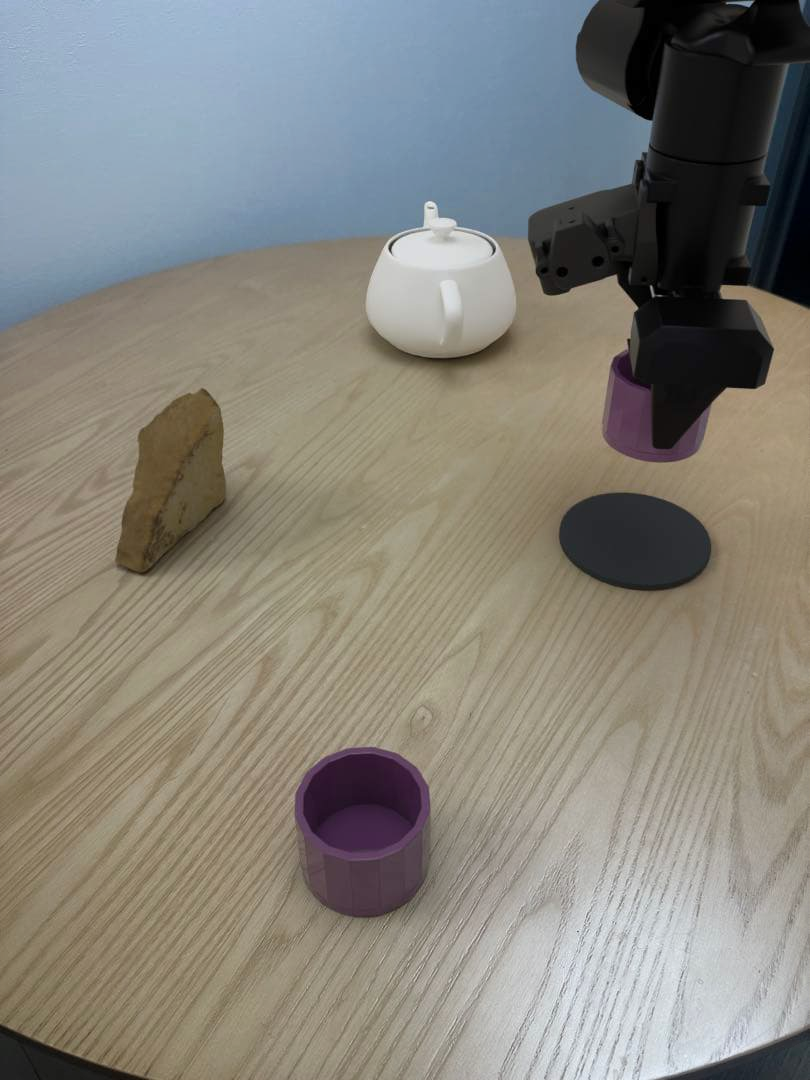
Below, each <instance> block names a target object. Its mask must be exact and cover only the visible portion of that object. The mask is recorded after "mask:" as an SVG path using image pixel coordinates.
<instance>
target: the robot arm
mask: <svg viewBox="0 0 810 1080" xmlns="http://www.w3.org/2000/svg"><path fill="white" fill-rule="evenodd" d="M744 2H752V3H751V4H750V5H749V6H747V5H743V4H738V3H744ZM575 62H576V66H577V70H578V73H579V75H580V77H581V79H582V81H583V83H584V84H585V85H586V86H587V87H588V88H589V89H590V90H591V91H592V92H595V93H596V94H598V95H600V96H601V97H604V98H605V99H607V100H609V101H611V102H613V103H614V104H617V105H618V106H620V107H622V108H623V109H624V110H627V111H629V112H631V113H632V114H635V116H638V117H640V118H642V119H644V120H646V121H649V122H651V129H650V135H649V141H648V148H647V151H641V156H640V159H635V161H634V166H633V171H632V177H631V183H629V184H624V185H621V186H618V187H617V186H616V187H614V188H610V189H601V190H598V191H595V192H591V193H588V194H585V195H582V196H579V197H575V198H572V199H569V200H565V201H563V202H560V203H556V204H553V205H550V206H547V207H544V208H542V209H539V210H537V211H535V212H533V213H532V214H531V215H530V216H528V217H529V218H528V221H527V241H528V245H529V248H530V252H531V255H532V259H533V262H534V266H535V269H534V270H535V275H536V276H537V278H538V280H539V282H540V286H541V289H542V293H543V294H544V295H546V296H548V297H549V296H550V297H553V296H559V295H564V294H567V293H570V291H571V290H572V289H575V288H578V287H581V286H585V285H589V284H591V283H595V282H598V281H599V282H600V281H602V280H605V279H607V278H609V277H613V276H616V280H617V284H618V285H619V287H620V288H621V289H622V290H623V291H624V292H625V294H626V295H627V296H628V298H629V299H630V300H631V301H632V302H633V303H634V305H635V306H636V308H637V309H636V310H635V311H634V312H633V316H632V321H631V328H630V337H629V338H626V343H627V349H628V350H629V356H630V361H631V364H632V370H633V377H634V378H636V379H638V380H640V381H642V382H644V383H646V384H651V427H652V445H653V447H654V448H656V449H671V448H673V447H674V446H675V444H676V443H677V442H678V441H679V440H680V439H681V438H682V436H683V435H684V434H685V433H686V432H687V431H688V430H689V428H690V427H691V426H692V425H693V424H694V423H695V421H696V420H697V419H698V418H699V417H700V416H701V415H702V413H703V412H704V411H705V410H706V409H707V408H708V407H709V406H710V405H711V403H712V404H713V402H715V401H716V399H718V397H719V396H720V395H721V394H723V393H724V392H725V390H727V389H740V390H741V389H743V390H756V389H758V388H761V387H763V386H764V385H766V382H767V378H768V375H769V371H770V368H771V367H770V366H771V363H772V359H773V355H774V351H775V347H774V345H773V343H772V340H771V338H770V336H769V333H768V331H767V329H766V327H765V323H764V322H763V319H762V317H761V316H760V315H759V313H758V312H757V311H756V310H755V309H754V307H753V306H752V305H751V304H750V302H749V301H748V300H747V299H737V298H735V299H734V298H723V295H722V293H721V290H722V289H721V288H722V287H723V286H731V287H732V286H733V287H734V286H735V287H748V284H749V281H750V276H751V273H752V265H751V263H750V261H749V259H748V256H747V254H746V249H747V244H748V240H749V237H750V232H751V226H752V223H753V217H754V214H755V208H756V207H767V204H768V200H769V195H770V190H771V188H772V187H771V186H772V185H771V183H770V182H769V180H768V178H767V176H766V175H765V172H764V170H765V165H766V160H767V156H768V151H769V147H770V143H771V138H772V134H773V129H774V125H775V121H776V116H777V111H778V108H779V103H780V99H781V95H782V94H781V93H782V91H783V85H784V81H785V76H786V74H787V73H786V72H787V68H788V65H793V64H803V63H805V64H807V63H810V24H809V23H808V22H807V20H806V18H805V16H804V14H803V12H802V8H801V3H800V0H598V1H596V2H595V4H594V5H593V6H592V7H591V8H590V11H589V12H588V14H587V15H586V17H585V19H584V21H583V23H582V27H581V29H580V31H579V32H578V33H577V36H576V42H575ZM711 406H712V405H711Z"/></svg>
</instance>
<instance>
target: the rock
mask: <svg viewBox="0 0 810 1080" xmlns="http://www.w3.org/2000/svg"><path fill="white" fill-rule="evenodd" d="M224 428H225V427H224V421H223V416H222V410H221V407H220V405H219V404H218V402H217V401H216V400H215V399H214V397H213V396H212V394H211V393H210V392H209V391H208V390H207V389H205V388H203V387H201V388H199V389H198V390H197V391H196V392H195V393H191V392H187V393H185V394H183V395H180V396H179V397H176V398H174V399H173V400H172V401H171V402H170V403H169V404H168V405H167V406H165V407H164V408H163V409H162V411H160V412H159V413H157V414H155V416H154V417H153V418H152V420H151V421H150V422H149V423H147V424H146V426H144V427H141V428H140V430H139V431H138V434H137V443H138V459H137V463H136V466H135V470H134V478H133V480H132V493H131V495H130V497H129V498H128V499H127V501H126V502H125V505H124V509H123V511H122V515H121V516H122V517H121V522H120V523H121V524H120V525H121V533H120V536H119V539H118V542H117V546H116V556H115V559H114V562H115V563H116V564H117V565H119V566H123V567H125V568H128V569H130V570H132V571H133V572H137V573H140V574H141V573H145V572H146V571H147V570H149V569H151V568H152V567H153V566H154V565H155V564H156V563H157V562H158V560H159V559H161V558H162V556H163V555H164V554H166V553H167V552H168V551H170V549H171V548H173V547H174V546H176V544H177V542H178V541H180V540H181V539H182V538H183V537H184V536H185V535H186V534H188V533H190V532H191V531H193V530H194V529H196V527H197V526H198V525H199V524H200V523H202V521H204V520H205V519H206V517H207V516H209V514H210V513H211V512H212V510H214V509H215V508H217V507H219V505H221V504H222V503H223V502H224V501H225V498H226V497H227V480H226V475H225V470H224V466H223V458H224V457H223V449H224V438H225V437H224V434H225V431H224V430H225V429H224Z"/></svg>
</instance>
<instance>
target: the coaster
mask: <svg viewBox="0 0 810 1080" xmlns="http://www.w3.org/2000/svg"><path fill="white" fill-rule="evenodd" d="M558 539H559V544H560V546H561V549H562V551H563V552H564V554H565V556H566V557H567V558H568V559H569V561H570V562H571V563H572V564H574V565H575V567H577V568H578V569H579V570H581V572H583V573H584V574H587V575H589V576H590V577H592V578H594V579H596V580H598V581H601V582H602V583H606V584H609V585H612V586H616V587H619V588H624V589H630V590H638V591H658V590H659V591H660V590H666V589H671V588H676V587H679V586H682V585H684V584H687V583H688V582H691V581H692V580H694V579H696V578H697V577H698V576H699V575H700V574H702V573H703V571H704V570H705V568H706V567H707V565H708V564H709V563H710V562H709V561H710V558H711V554H712V541H711V537H710V535H709V532H708V531H707V529H706V527H705V526H704V525H703V523H702V522H701V521H700V520H699V519H698V518H697V517H696V516H694V515H693V514H692V513H691V512H689V511H688V510H687V509H685V508H683V507H682V506H679V505H678V504H675V503H674V502H671V501H668V500H666V499H663V498H660V497H657V496H653V495H649V494H645V493H638V492H607V493H601V494H597V495H593V496H590V497H586V498H584V499H582V500H580V501H579V502H577V503H575V504H574V505H572V506H571V507H570V508H569V509H568V510H567V511H566V512H565V514H564V515H563V517H562V519H561V521H560V525H559V530H558Z"/></svg>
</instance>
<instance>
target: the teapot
mask: <svg viewBox="0 0 810 1080" xmlns="http://www.w3.org/2000/svg"><path fill="white" fill-rule="evenodd" d="M423 212H424V213H423V215H424V218H423V226H422V227H416V228H411V229H408V230H404V231H402V232H399V233H397V234H395V235H394V236H392V237H390V239H389V240H387V242H386V243H385V245H384V247H383V249H382V250H381V252H380V254H379V257H378V259H377V261H376V263H375V266H374V268H373V271H372V273H371V276H370V279H369V281H368V282H369V283H368V287H367V291H366V296H365V297H366V298H365V311H366V315H367V318H368V321H369V323H370V325H371V326H372V327H373V328H374V330H375V331H376V332H377V334H379V335H380V336H381V337H382V338H384V339H385V340H386V341H387V342H389V344H391V345H392V346H394V347H395V348H396V349H398V350H400V351H402V352H403V353H406V354H410V355H413V356H417V357H418V356H419V357H422V358H432V359H449V358H460V357H464V356H469V355H472V354H476V353H478V352H480V351H482V350H484V349H486V348H487V347H488V346H490V345H491V344H492V343H494V342H495V341H497V340H498V339H499V338H500V337H502V336H503V335H504V334H505V333H506V332H507V330H509V328H510V327H511V326H512V324H513V322H514V319H515V316H516V313H517V296H516V289H515V286H514V281H513V278H512V275H511V271H510V269H509V265H508V264H507V262H506V259H505V256H504V253H503V251H502V249H501V247H500V245H499V244H498V242H497V240H495V239H494V238H492V236H491V235H487V234H486V233H484V232H481V231H478V230H475V229H471V228H468V227H460V226H458V224H457V221H456V220H455V219H453V218H449V217H440V216H439V210H438V206H437V204H436V203H435V202H434V201H429V200H428V201H426V202H425V203H424V205H423Z"/></svg>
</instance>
